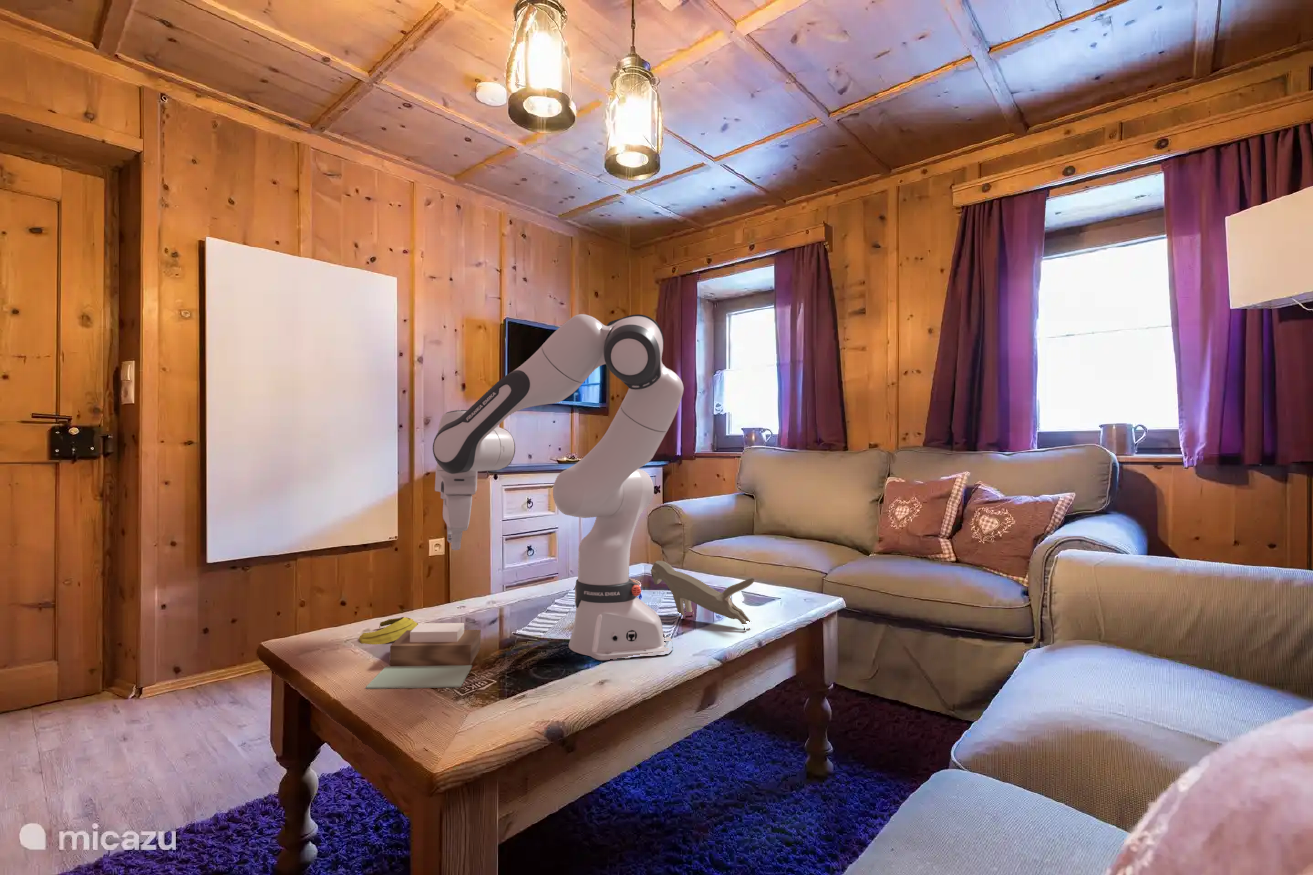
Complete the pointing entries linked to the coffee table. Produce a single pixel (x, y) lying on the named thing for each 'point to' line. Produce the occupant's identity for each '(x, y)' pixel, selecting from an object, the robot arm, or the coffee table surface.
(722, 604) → the sculpture
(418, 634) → the tile
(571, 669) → the coffee table surface
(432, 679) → the mat
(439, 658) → the wooden block
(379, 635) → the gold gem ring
